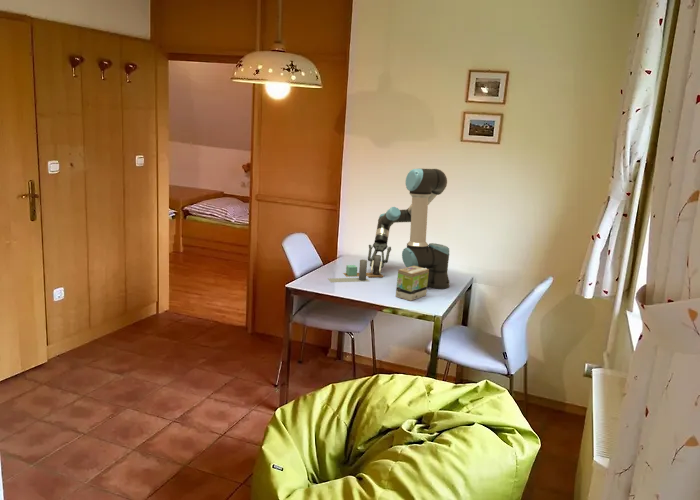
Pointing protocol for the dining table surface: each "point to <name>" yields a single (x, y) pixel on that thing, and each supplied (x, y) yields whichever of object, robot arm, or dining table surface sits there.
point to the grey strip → (361, 278)
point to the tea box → (412, 282)
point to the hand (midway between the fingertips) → (375, 271)
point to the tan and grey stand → (375, 269)
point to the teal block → (351, 270)
